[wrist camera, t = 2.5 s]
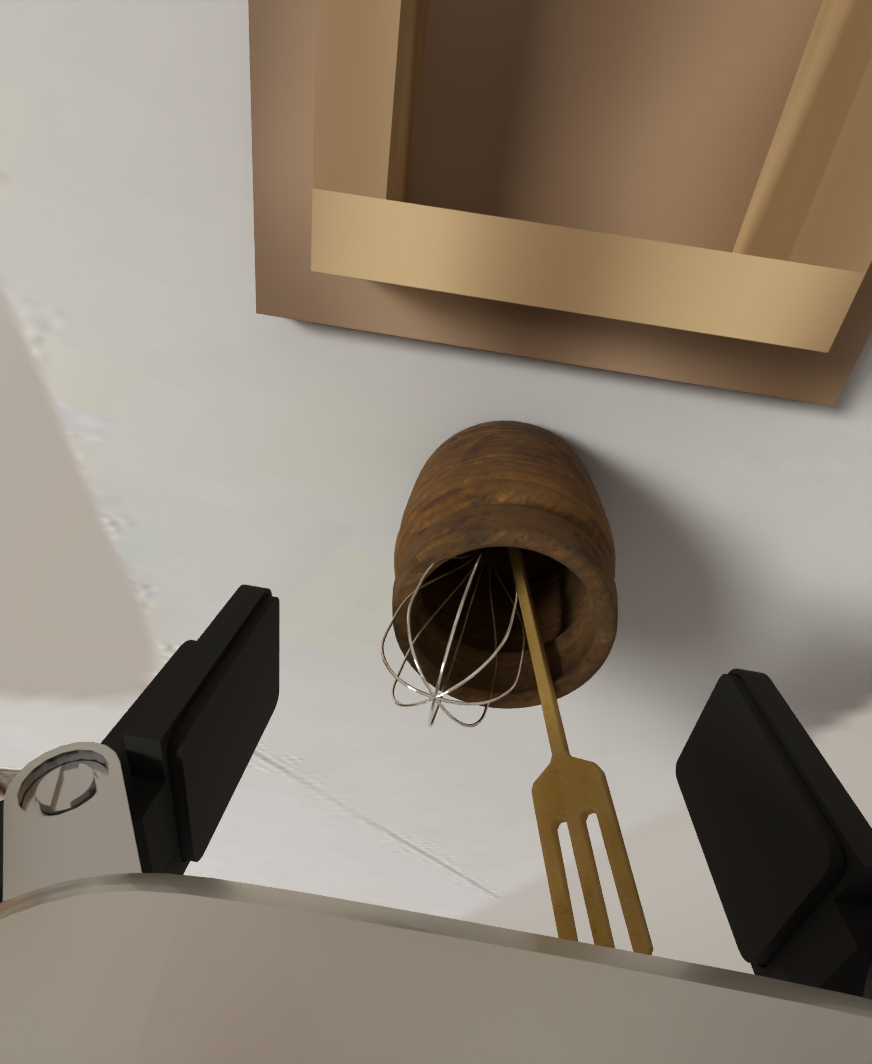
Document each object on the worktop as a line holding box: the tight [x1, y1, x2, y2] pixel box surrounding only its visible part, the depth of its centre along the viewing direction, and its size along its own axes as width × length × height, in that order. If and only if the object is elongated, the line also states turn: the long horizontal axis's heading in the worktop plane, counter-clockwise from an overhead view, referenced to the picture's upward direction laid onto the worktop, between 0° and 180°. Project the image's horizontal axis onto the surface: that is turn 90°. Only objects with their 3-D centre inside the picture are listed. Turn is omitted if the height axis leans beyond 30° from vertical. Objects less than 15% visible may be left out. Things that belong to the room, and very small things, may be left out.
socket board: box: [248, 0, 872, 406], centre depth 10 cm, size 16×14×4 cm
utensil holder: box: [381, 421, 653, 955], centre depth 13 cm, size 6×6×12 cm
